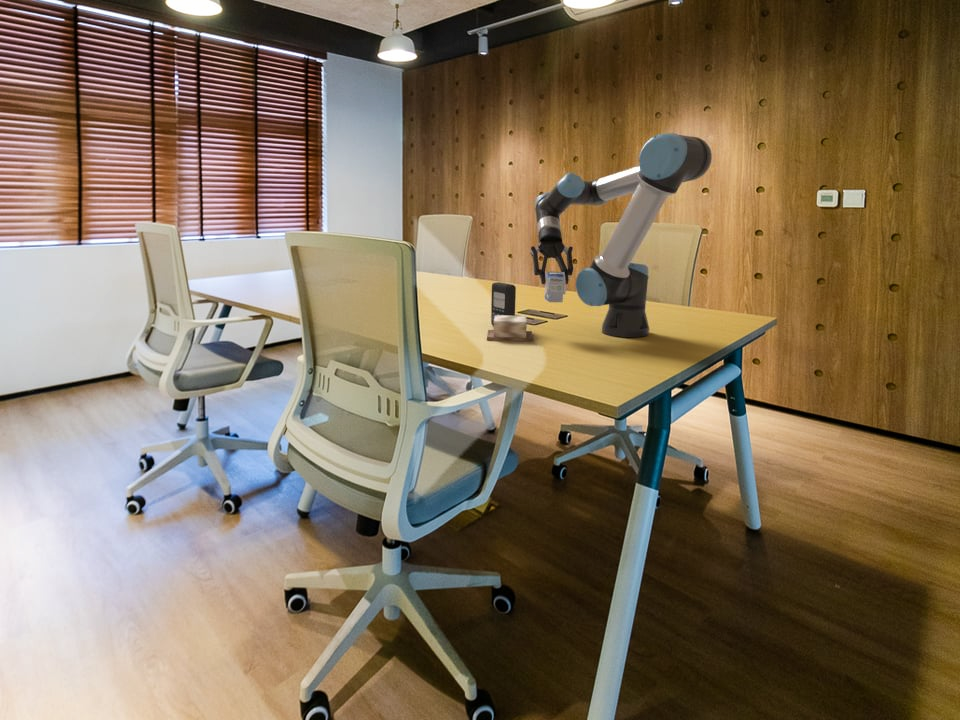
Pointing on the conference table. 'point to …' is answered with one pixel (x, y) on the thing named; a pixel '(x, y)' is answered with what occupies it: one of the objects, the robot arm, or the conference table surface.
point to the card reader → (502, 300)
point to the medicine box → (555, 287)
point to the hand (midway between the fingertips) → (556, 291)
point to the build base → (510, 329)
